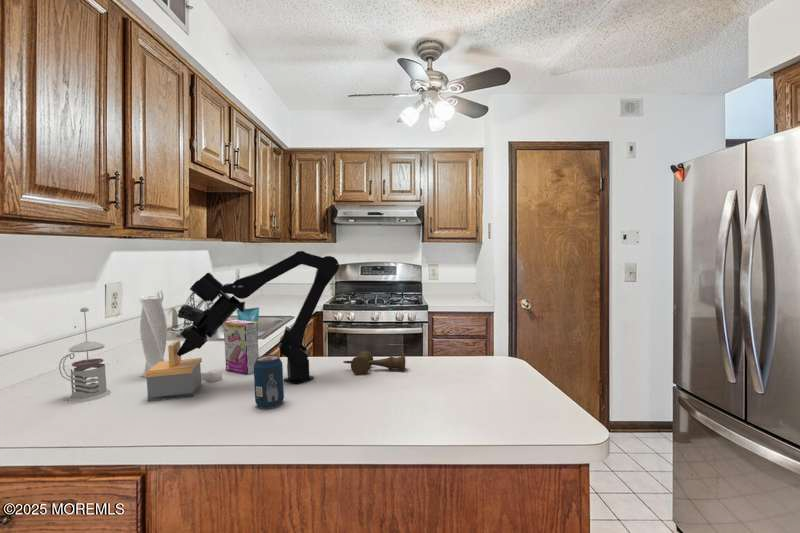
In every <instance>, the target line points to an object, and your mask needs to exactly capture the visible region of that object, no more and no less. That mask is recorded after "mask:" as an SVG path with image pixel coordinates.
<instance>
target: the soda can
mask: <svg viewBox="0 0 800 533" xmlns="http://www.w3.org/2000/svg"><path fill="white" fill-rule="evenodd" d="M283 367H284V366H283V361H282V360H281V358H280V355H278V354H265V355H261V356H259V357H258V358H256V362H255V364H254V373H253V381H254V383H253V384H254V403H255V404H256V405H257V407H258V408H259V409H265V410H266V409H268V410H269V409H274V408H277V407H279V406H281V404H282V403H283V401H284V398H285V394H284V393H285V392H284V387H285V386H284V373H283V372H284V371H283V370H284V368H283Z"/></svg>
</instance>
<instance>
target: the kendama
mask: <svg viewBox="0 0 800 533" xmlns="http://www.w3.org/2000/svg"><path fill="white" fill-rule="evenodd" d="M406 361H407V360H406V356H405V355H403V354H402V355H401V356H399V357H398V356H397V357H395V356H394V357H393V356H392V355H390V356H389V357H387V358H380V359H374V356H373V354H372V353H371V352H370V351H368V350H367V351H366V350H362V351H360V352H359V353H357V355H356V356H355V357H353V358H352V359H351V360H343V362H342V363H344V364H349V365H350V369H351V371H352V373H353V374H355V375H357V376H363V375H366V374H368V373H369V371H370V368H371V366H378V367H383V368H386V369H388V370H389V371H392V370H394V369H395V370H400V371H401V372H405V369H406Z"/></svg>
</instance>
